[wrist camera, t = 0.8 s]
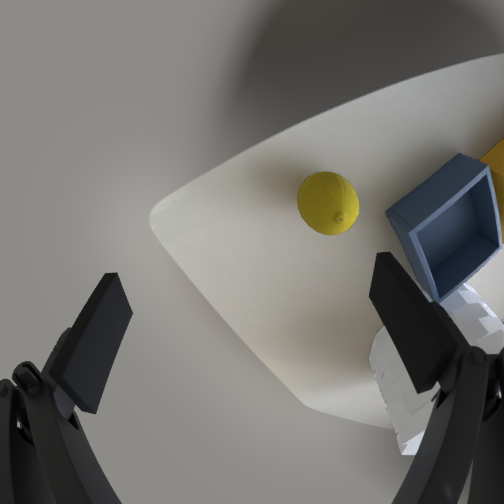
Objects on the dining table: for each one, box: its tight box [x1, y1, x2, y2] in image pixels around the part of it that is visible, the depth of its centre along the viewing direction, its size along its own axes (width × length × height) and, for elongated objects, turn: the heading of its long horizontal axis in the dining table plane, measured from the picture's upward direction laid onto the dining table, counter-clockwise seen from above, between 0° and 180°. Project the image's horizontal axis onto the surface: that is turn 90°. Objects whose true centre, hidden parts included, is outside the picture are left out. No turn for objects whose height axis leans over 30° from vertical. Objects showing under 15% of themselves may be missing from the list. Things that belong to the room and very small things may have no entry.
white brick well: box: [368, 283, 504, 455], centre depth 33 cm, size 25×24×19 cm
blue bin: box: [385, 153, 503, 304], centre depth 28 cm, size 14×14×6 cm
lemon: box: [297, 172, 359, 235], centre depth 25 cm, size 6×6×8 cm
